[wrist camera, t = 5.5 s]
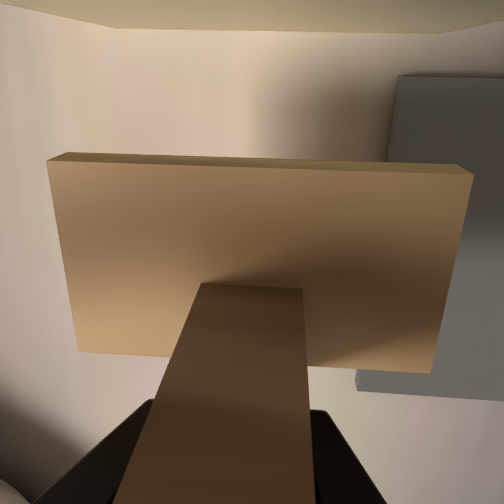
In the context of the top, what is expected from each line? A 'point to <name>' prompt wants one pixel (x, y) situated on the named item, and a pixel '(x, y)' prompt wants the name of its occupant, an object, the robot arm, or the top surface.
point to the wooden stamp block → (251, 299)
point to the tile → (278, 14)
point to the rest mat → (472, 236)
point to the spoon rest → (10, 495)
